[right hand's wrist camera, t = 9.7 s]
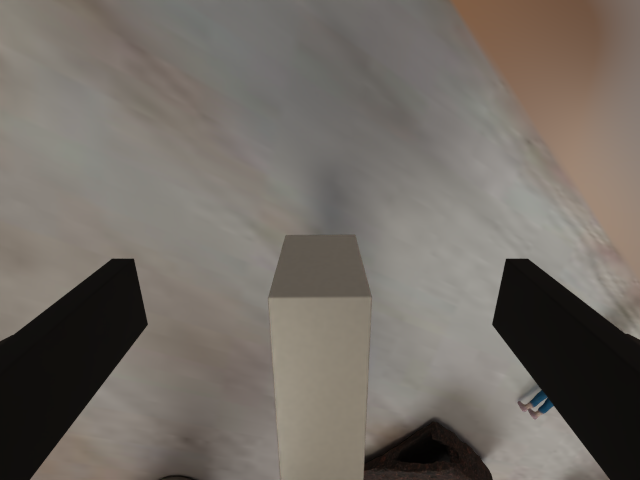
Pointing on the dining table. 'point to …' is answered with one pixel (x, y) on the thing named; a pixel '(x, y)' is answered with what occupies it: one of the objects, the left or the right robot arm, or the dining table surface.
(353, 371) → the bar
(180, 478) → the left robot arm
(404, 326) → the dining table surface
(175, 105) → the dining table surface
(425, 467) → the axe head
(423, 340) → the dining table surface
